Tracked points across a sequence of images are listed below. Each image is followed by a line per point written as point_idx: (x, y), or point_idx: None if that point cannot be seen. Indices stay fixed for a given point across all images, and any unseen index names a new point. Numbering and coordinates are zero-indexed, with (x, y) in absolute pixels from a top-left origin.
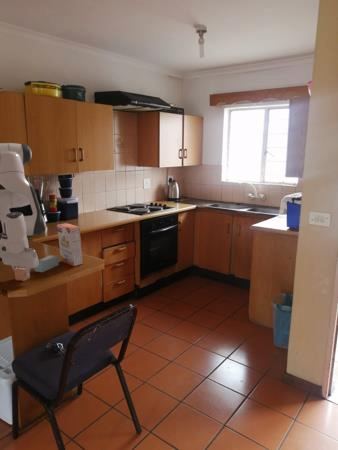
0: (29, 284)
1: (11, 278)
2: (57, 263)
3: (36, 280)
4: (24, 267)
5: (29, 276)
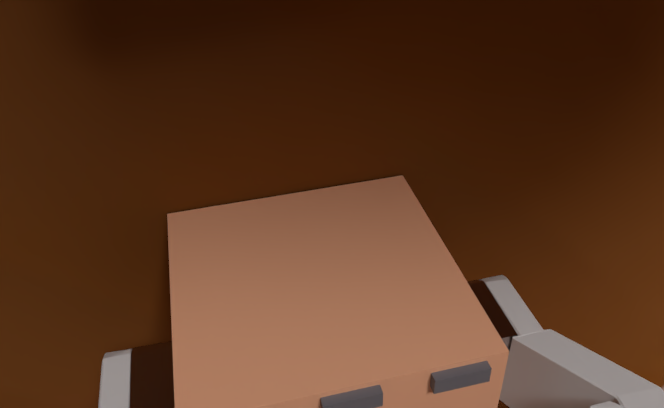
0: (592, 320)
1: (36, 356)
2: None
3: (612, 185)
4: (354, 403)
5: (417, 205)
